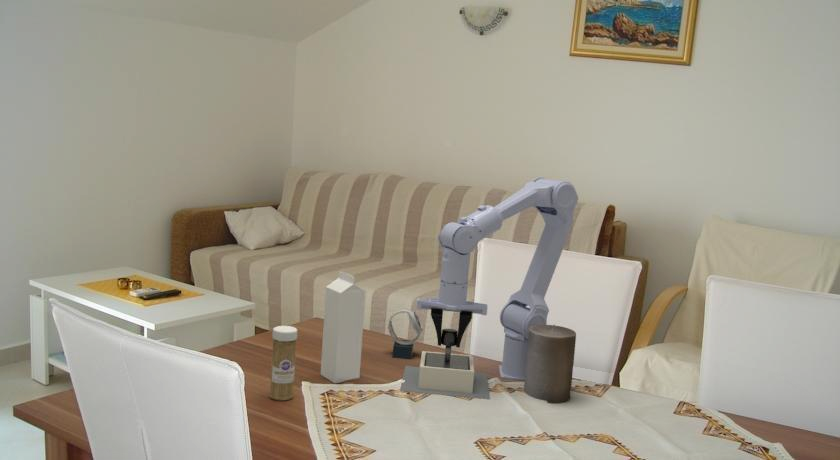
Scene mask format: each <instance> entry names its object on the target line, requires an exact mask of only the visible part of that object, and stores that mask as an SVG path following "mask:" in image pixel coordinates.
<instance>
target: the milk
mask: <svg viewBox="0 0 840 460" xmlns="http://www.w3.org/2000/svg"><path fill="white" fill-rule="evenodd" d="M324 299H325V301H324V311H323V312H324V315H323V329H322V332H323V333H322V343H321V344H322V345H321V347H322V348H321V359H320V360H321V362H320V376H322V377H324V378H325V379H327V380H329V381H330V382H331V383H333V384H339V383H345V382H346V381H348V380H355V379H360V378H361V377H360V375H361V372H360V371H361V362H362V347H363V335H364V334H363V333H364V330H363V329H364V320H365V319H364V317H365V304H366V303H365V300H366V290H364V289H363V288H362V287H360V286H359V285H357V284H355V276H354V275H352V274H349V273H346V272H345V271H342V270H339V272H338V277H337V278H336V279H334V280H333V281H332V282H331V283H329V284H328V285H326V287H325V297H324Z"/></svg>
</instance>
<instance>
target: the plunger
mask: <svg viewBox="0 0 840 460" xmlns="http://www.w3.org/2000/svg"><path fill="white" fill-rule="evenodd" d="M457 334H458V330H457V329H453V328H442V338H441V346H445V349H444V350H445V352H444V353H445V355H443V354H432V353H427V361H426V366H430V367H441V368H452V369H463V370H468V358H467V357H465V356H454V355H451V354H452V347H455V346H456V343H457Z"/></svg>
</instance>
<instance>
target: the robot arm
mask: <svg viewBox="0 0 840 460" xmlns="http://www.w3.org/2000/svg"><path fill="white" fill-rule="evenodd" d="M578 201H579V195H578V194H577V190H576V188H575V185H574V184H573V183H572V182H570V181H567V180H563V181H562V180H556V179H555V180H554V179H549V178H548V179H547V178H545V177H536V178H534V179H533V180H531V181H529V182H526V183H525V185H524V187H522V188H521V189H519V190H518V191H516V192H515V193H513V194H512V195H510V196H509V197H507V198H506V199H504V200H503V201H501V202H500V203H498V204H497V205H495V206H492V205H488V204H487V205H482V204H481V205H479V206H477V210H476V211H474V212H471V214H469V215H467V216H462V217H460V218H459V220H458V222H453V221H451V222H449V223H447V224H446V225H443V228H441V231H440V234H437V242H438V244H439V245H440V247H441V255H442V256H441V268H440V281H439V291H438V298H421V297H420V298H419V297H418V298H416V299H417V300H416V310H420V311H421V310H430V317H431V320H432V322H433V325H434V327H435V332H436V337H437V346H438V347H442V344H441V338H442V330H443V328H442V326H443V315H444V312H455V313H459V317H458V318H459V319H458V330H457V331H458V332H457V343H456V345H455V346H456V348H460V347H461V346H460V345H461V343H462V339H463V336H464V334H465V332H466V330H467V328H468V326H469V324H470V323H471V321H472V319H473V314H477V315H482V316H487V315H488V307H489V306H488V304H487V303H480V302H472V301H467V298H468V286H469V285H468V284H469V275H470V261H471V253H473V252H474V250H476V248H477V246H478V243H480V241H481V242H482V240H484V239H486V238H487V237H489V236H491V235H492V234H494V233H496V232H497V231H499V230H500V229H501V228H502V226H503V221H505V220H507V219H509V218H511V217H513V216H515V215H517V214H519V213H521V212H523V211H525V210H527V209H530V208H531V207H534V208H535V210H537V212H538V213H539V214H540V215H541V216H542V219H543V221H544V223H545V225H544V227H543V230H542V233H541V235H540V238H539V241H538V243H537V246H536V248H535V251H534V254H533V257H532V259H531V261H530V264H529V266H528V269H527V271H526V274H525V276H524V280H523V282H522V285H521V287H520V289H519V290H517V291H516V292H514V293H512V294H511V295H510V296H509V298H508V301H507V303H506V304H505V305H504V306H503V307H502V309H501V310H500V314H499V322H500V324H501V326H502V327H503V332H504V344H503V354H502V363H501V364H500V365H498V369H499V371H498V372H499V374H500V378H502V379H511V380H521V381H522V380H523V381H525V372H526V361H527V350H528V338H529V328H530V327H531V326H534V325H548V321H547V318H548V314H549V312H550V308H549V306H548V304H547V302H546V299H545V297H546V294H547V292H548V289H549V286H550V285H551V284H550V283H551V281H552V279H553V276H554V274H555V271H556V268H557V266H558V263H559V260H560V259H561V255H562V254H563V253H562V252H563V250H564V248H565V245H566V242H567V239H568V237H569V234H570V232H571V230H572V226H573V221H574V211H575V209H576V206H577V203H578ZM527 306H528V307H527Z"/></svg>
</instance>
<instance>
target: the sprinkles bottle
mask: <svg viewBox="0 0 840 460" xmlns="http://www.w3.org/2000/svg"><path fill="white" fill-rule="evenodd" d="M271 336H272V337H271V339H272V351H271V352H272V353H271V361H270V363H271V365H270V386H269V387H270V388H269V390H270V391H269V398H270V399H272V400H275V401H289V400H291V399H292V398H294V382H295V370H296V369H295V368H296V347H297V346H296V345H297V344H296V343H297V339H298V328H296V327H294V326H291V325H290V326H289V325H278V326H275V327H273V328H272V335H271Z"/></svg>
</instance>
